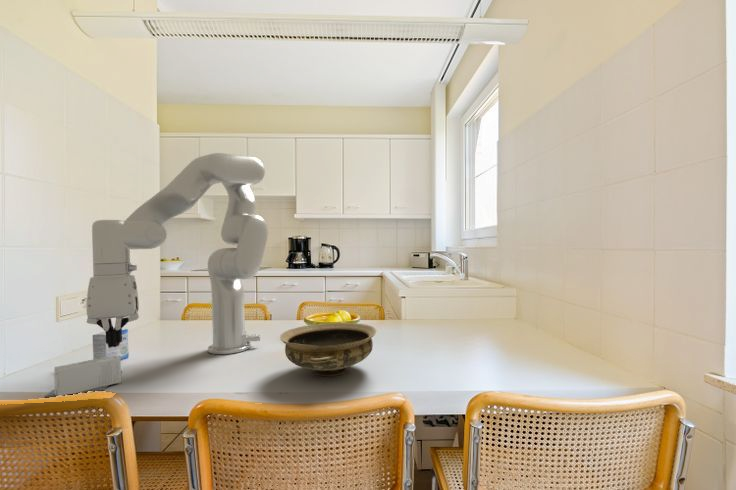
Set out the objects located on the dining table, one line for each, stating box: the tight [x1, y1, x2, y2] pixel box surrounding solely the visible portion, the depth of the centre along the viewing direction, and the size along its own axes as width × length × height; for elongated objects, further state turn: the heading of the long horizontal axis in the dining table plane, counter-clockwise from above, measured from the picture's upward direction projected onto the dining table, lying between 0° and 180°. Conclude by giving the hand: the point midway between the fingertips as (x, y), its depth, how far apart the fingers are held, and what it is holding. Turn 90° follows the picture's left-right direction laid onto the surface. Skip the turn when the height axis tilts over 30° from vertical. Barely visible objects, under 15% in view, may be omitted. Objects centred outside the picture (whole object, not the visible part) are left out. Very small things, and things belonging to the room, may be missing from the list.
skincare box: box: [53, 355, 122, 396], centre depth 88 cm, size 6×4×12 cm
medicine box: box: [91, 328, 130, 361], centre depth 111 cm, size 8×4×9 cm, turn 168°
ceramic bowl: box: [279, 322, 377, 377], centre depth 97 cm, size 30×24×10 cm
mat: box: [44, 370, 123, 398], centre depth 92 cm, size 11×14×1 cm
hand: (114, 345), depth 94 cm, fingers closed
